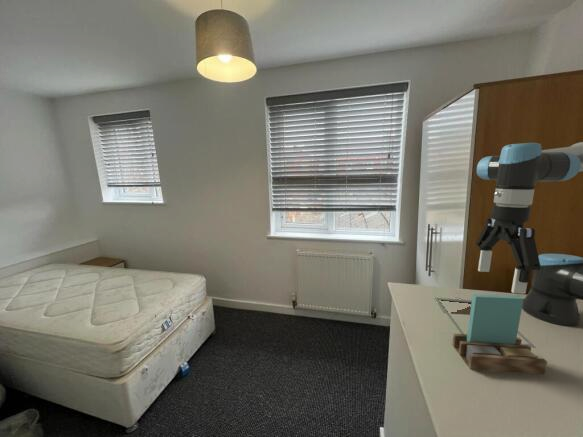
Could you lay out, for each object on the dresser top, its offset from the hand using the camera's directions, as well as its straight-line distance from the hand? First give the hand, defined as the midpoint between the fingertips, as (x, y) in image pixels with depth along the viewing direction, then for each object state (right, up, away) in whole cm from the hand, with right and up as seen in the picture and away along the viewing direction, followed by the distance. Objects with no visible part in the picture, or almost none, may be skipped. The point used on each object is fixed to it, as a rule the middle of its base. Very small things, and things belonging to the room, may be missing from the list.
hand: (499, 281), depth 68 cm
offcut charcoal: (-4, -23, +1) cm, 23 cm away
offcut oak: (+4, -23, 0) cm, 23 cm away
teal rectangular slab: (+1, -22, +4) cm, 23 cm away
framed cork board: (+10, -20, +22) cm, 32 cm away
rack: (0, -24, +2) cm, 24 cm away
